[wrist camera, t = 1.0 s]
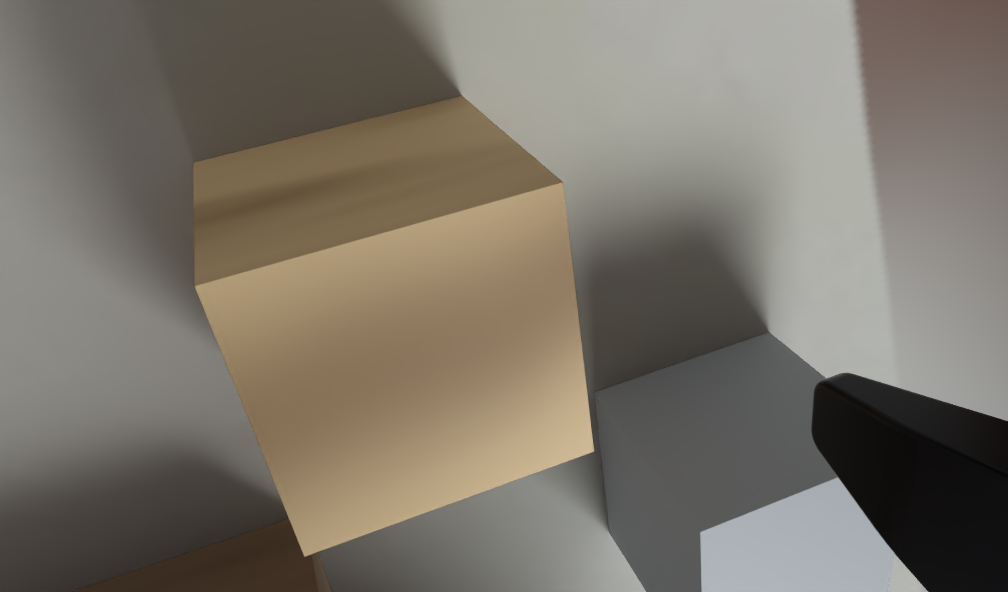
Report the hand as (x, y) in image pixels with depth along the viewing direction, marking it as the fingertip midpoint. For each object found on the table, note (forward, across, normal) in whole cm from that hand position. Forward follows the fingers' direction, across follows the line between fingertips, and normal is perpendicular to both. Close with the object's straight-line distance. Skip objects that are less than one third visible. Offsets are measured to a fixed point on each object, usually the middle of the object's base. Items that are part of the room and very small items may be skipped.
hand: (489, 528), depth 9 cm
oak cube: (+8, 0, 0) cm, 8 cm away
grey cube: (+8, -7, +8) cm, 13 cm away
